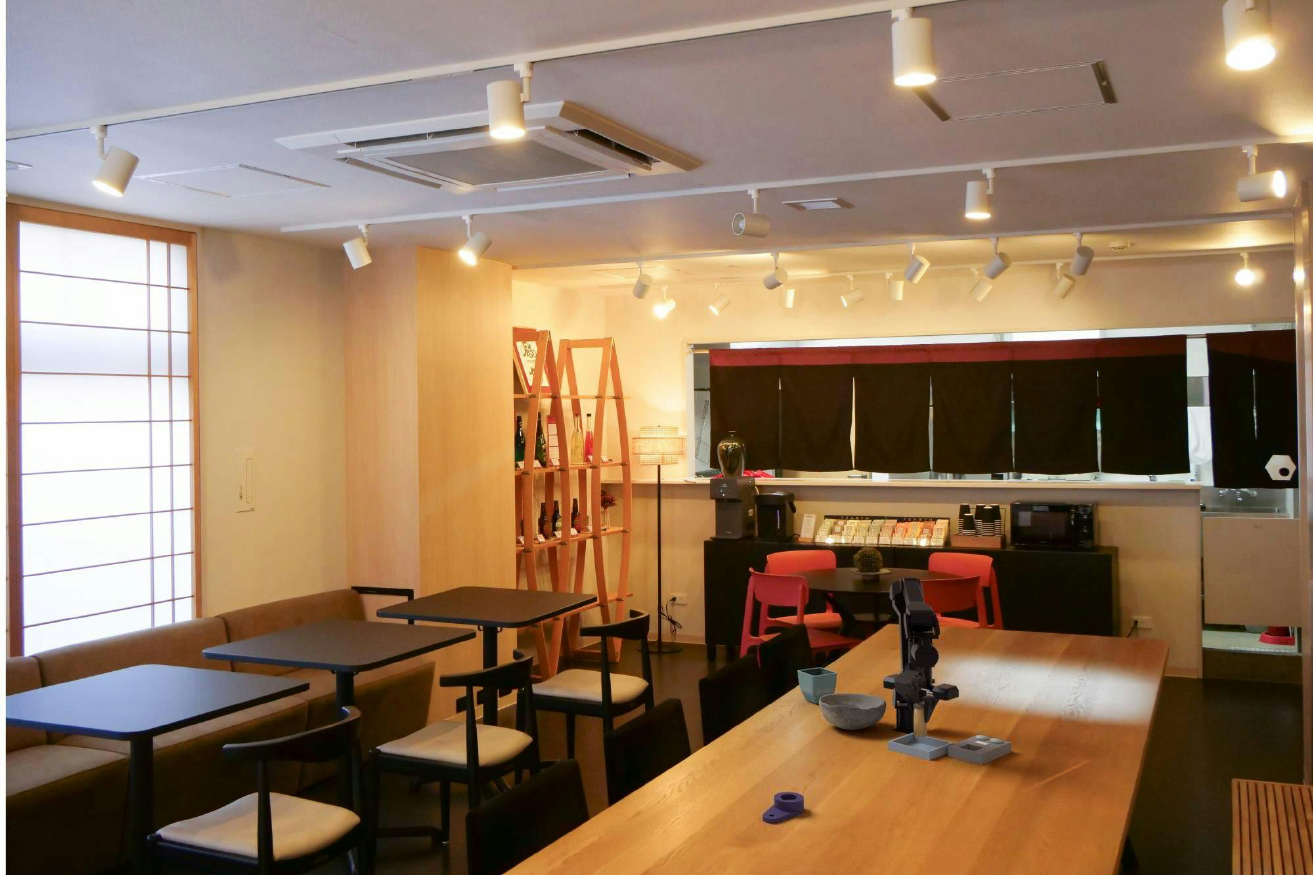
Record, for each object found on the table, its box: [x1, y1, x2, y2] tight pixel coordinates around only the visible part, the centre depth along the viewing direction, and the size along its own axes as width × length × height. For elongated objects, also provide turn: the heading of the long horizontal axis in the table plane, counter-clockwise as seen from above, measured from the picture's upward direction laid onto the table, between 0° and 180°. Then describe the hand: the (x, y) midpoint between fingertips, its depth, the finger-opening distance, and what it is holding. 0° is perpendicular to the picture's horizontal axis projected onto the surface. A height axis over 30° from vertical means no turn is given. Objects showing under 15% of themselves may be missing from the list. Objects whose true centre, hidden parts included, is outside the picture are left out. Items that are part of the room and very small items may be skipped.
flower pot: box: [797, 667, 838, 705], centre depth 315 cm, size 9×9×9 cm
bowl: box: [818, 692, 887, 731], centre depth 287 cm, size 18×18×8 cm
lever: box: [762, 791, 805, 825], centre depth 223 cm, size 12×6×3 cm, turn 142°
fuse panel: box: [947, 734, 1012, 766], centre depth 261 cm, size 9×14×4 cm, turn 133°
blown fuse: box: [913, 702, 928, 737], centre depth 265 cm, size 3×3×8 cm
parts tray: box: [887, 733, 955, 761], centre depth 265 cm, size 12×11×2 cm
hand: (920, 721), depth 265 cm, fingers closed on blown fuse, 3 cm apart
